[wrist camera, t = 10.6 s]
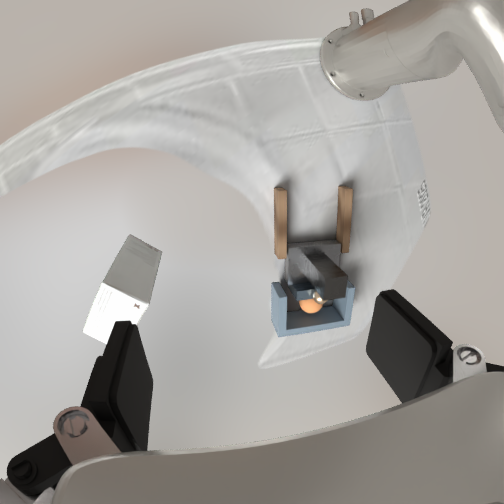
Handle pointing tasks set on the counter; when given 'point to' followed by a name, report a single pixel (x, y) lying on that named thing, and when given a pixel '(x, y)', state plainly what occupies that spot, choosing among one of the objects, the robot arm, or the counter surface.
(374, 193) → the counter surface
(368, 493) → the robot arm
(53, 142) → the counter surface
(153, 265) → the skincare box
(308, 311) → the ball
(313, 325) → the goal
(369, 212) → the counter surface
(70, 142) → the counter surface
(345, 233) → the rail
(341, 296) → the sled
